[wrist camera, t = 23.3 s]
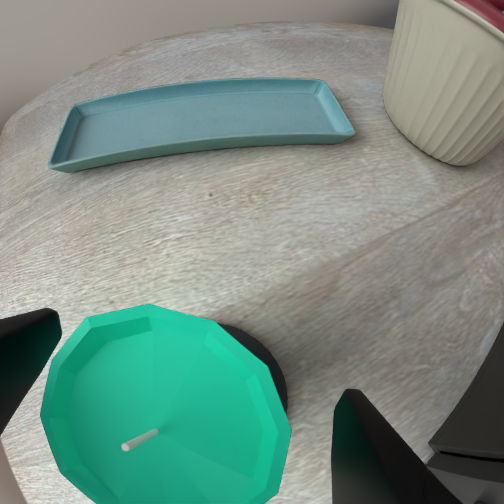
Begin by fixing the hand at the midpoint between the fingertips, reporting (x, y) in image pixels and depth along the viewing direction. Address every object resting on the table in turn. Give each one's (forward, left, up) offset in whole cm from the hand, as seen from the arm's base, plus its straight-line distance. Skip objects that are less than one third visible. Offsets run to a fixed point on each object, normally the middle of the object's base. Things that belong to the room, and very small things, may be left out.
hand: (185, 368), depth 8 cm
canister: (+33, -4, -9) cm, 34 cm away
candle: (-2, -1, -9) cm, 9 cm away
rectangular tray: (+15, +14, -9) cm, 23 cm away
